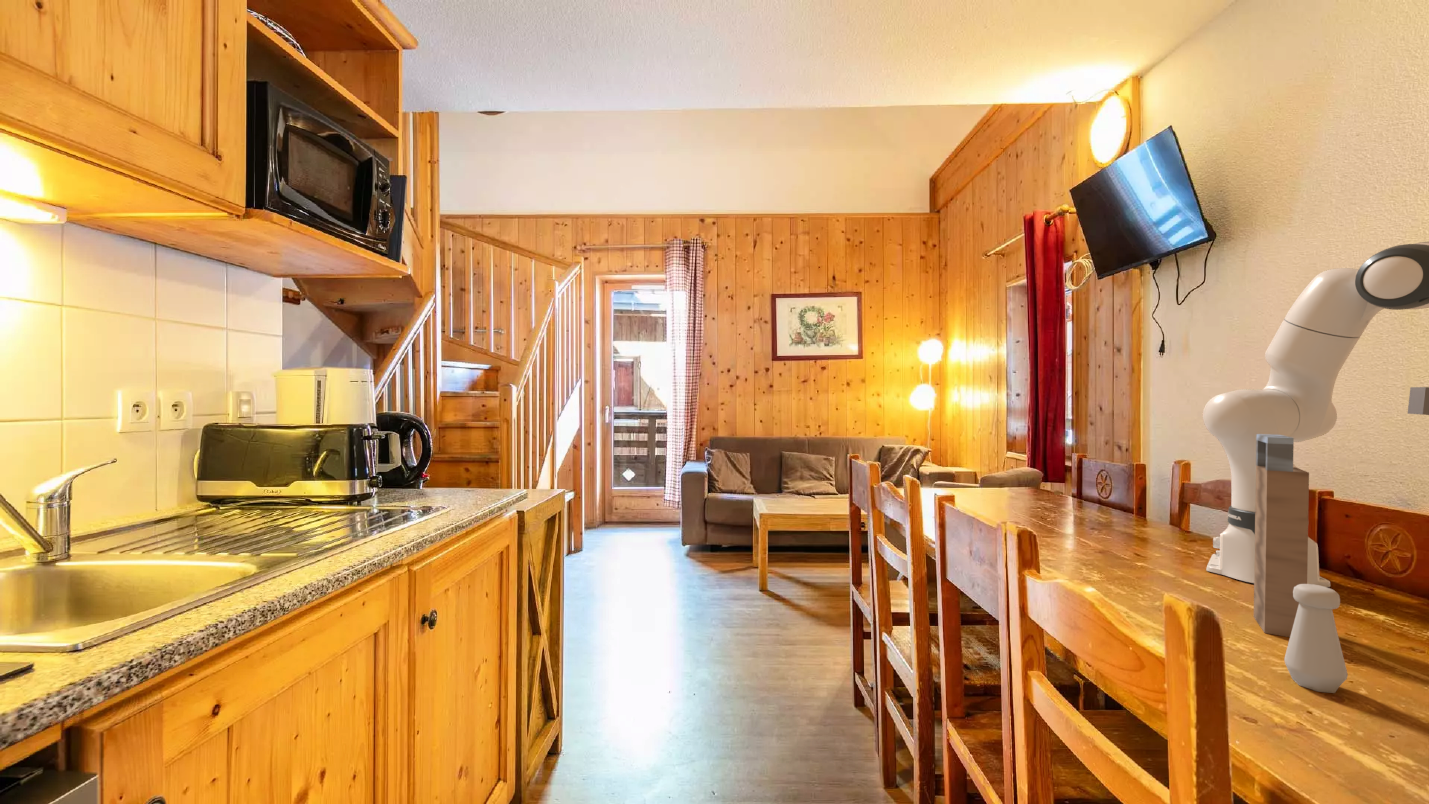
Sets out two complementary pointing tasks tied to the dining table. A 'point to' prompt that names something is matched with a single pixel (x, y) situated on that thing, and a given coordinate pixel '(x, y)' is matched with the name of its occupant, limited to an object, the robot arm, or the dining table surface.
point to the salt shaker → (1315, 640)
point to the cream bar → (1419, 400)
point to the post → (1279, 533)
